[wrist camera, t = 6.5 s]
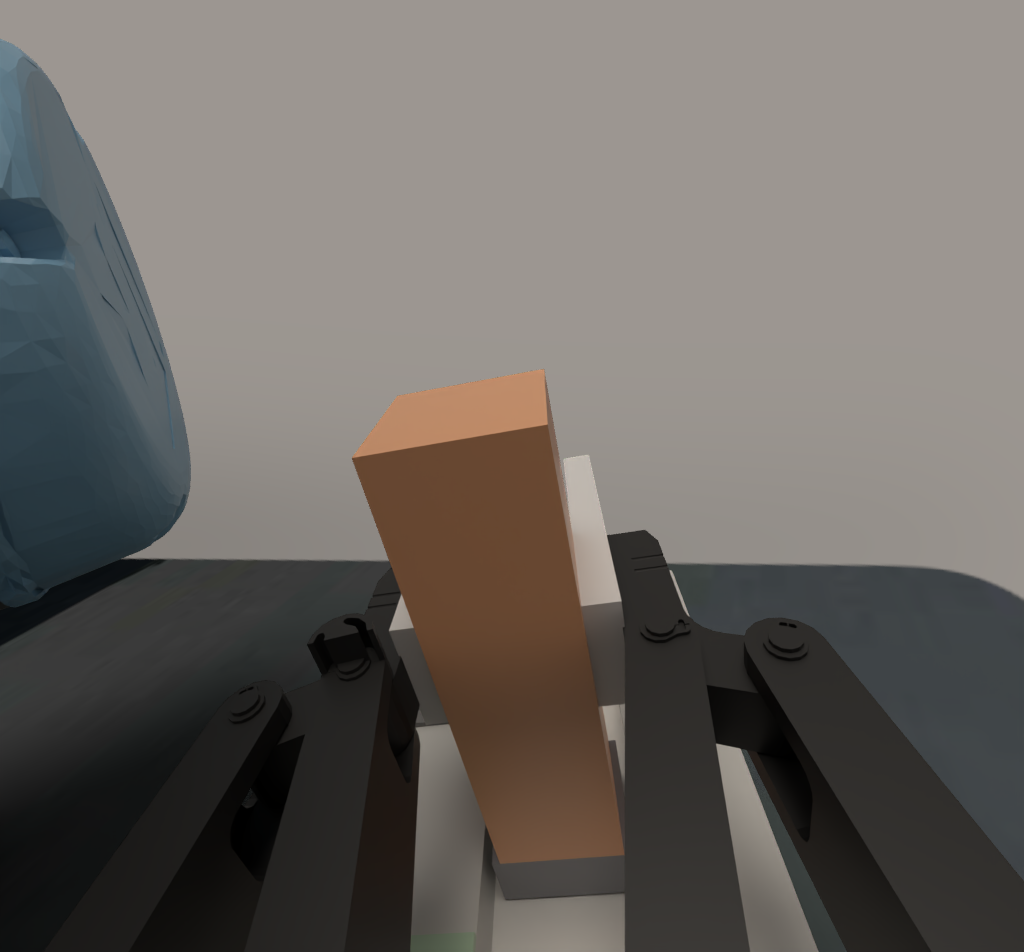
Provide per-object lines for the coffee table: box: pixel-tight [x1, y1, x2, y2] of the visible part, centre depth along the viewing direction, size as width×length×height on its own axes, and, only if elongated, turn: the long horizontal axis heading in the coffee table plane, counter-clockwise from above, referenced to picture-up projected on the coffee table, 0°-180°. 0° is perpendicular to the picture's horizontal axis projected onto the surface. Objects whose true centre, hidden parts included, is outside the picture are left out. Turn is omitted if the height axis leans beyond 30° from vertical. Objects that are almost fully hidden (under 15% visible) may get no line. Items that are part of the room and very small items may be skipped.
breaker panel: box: [410, 571, 818, 952], centre depth 15 cm, size 18×10×3 cm, turn 178°
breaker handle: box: [352, 369, 625, 899], centre depth 12 cm, size 3×3×13 cm
